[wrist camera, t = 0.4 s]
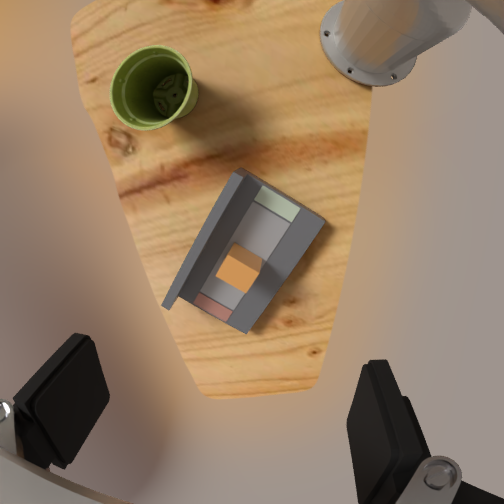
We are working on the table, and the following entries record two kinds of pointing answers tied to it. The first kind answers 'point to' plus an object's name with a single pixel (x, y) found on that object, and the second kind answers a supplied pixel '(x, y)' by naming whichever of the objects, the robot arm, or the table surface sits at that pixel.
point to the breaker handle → (240, 268)
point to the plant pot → (152, 88)
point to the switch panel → (251, 238)
